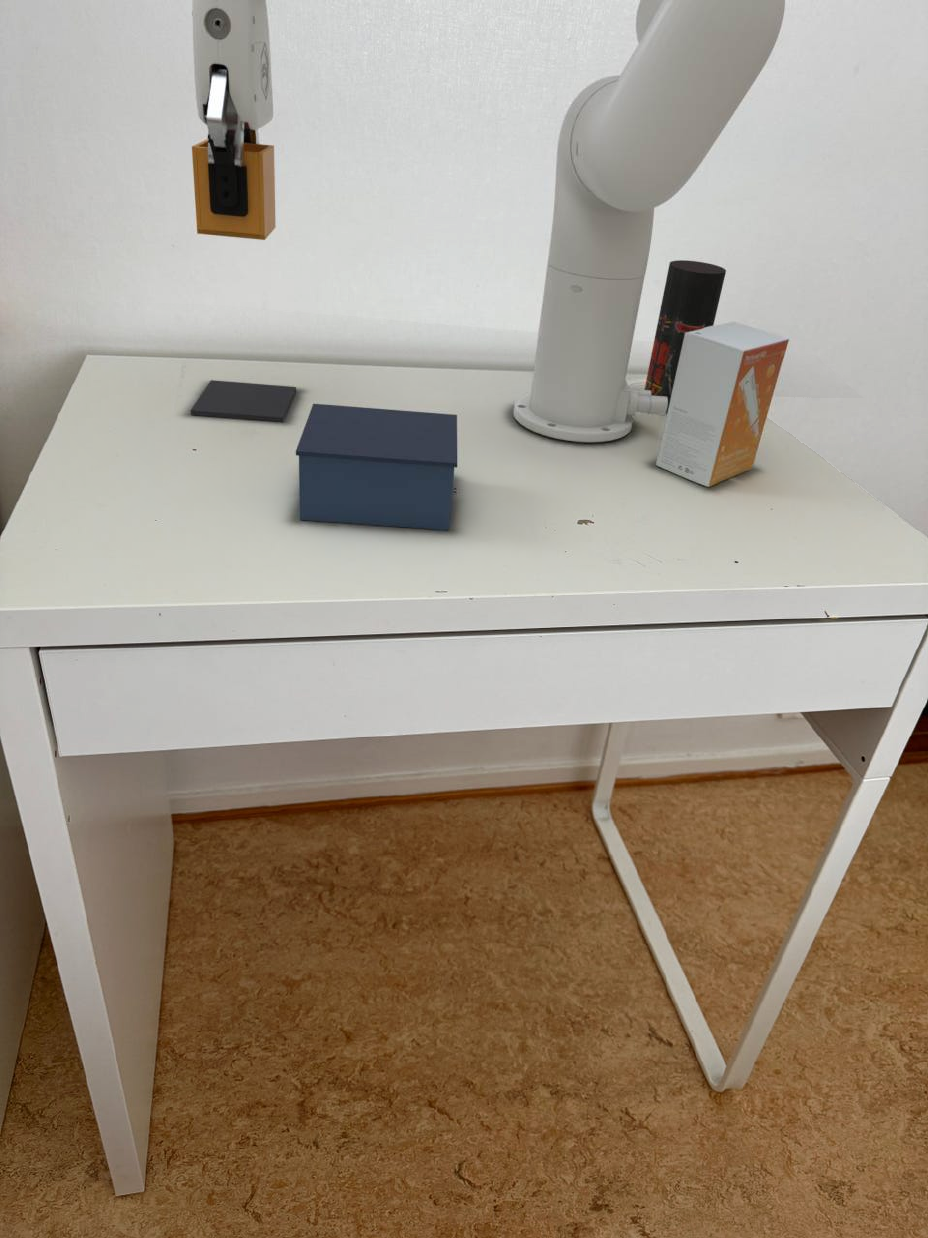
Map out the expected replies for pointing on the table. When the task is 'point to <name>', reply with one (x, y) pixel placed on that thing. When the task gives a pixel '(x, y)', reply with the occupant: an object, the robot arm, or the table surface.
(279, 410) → the rubber mat
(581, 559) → the table surface
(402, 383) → the table surface
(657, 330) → the deodorant
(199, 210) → the amber container
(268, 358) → the table surface
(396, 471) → the storage tub
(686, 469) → the small box
